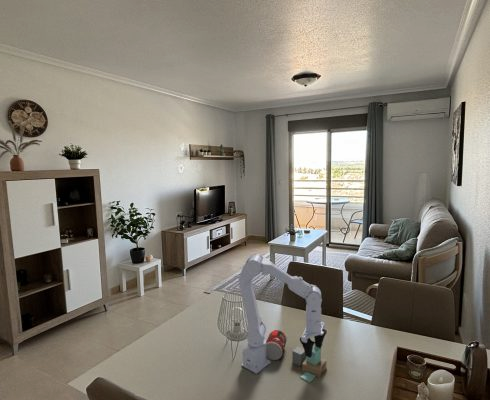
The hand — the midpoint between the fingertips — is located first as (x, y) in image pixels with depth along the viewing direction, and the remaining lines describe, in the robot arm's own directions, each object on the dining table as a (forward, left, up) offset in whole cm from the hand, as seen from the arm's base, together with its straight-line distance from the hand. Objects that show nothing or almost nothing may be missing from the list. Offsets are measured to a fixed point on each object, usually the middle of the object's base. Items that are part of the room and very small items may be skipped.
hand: (313, 351), depth 123 cm
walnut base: (0, -1, -7) cm, 7 cm away
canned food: (+4, +20, -3) cm, 21 cm away
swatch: (-6, -1, -7) cm, 9 cm away
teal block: (0, 0, -4) cm, 4 cm away
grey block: (0, +6, -7) cm, 9 cm away
